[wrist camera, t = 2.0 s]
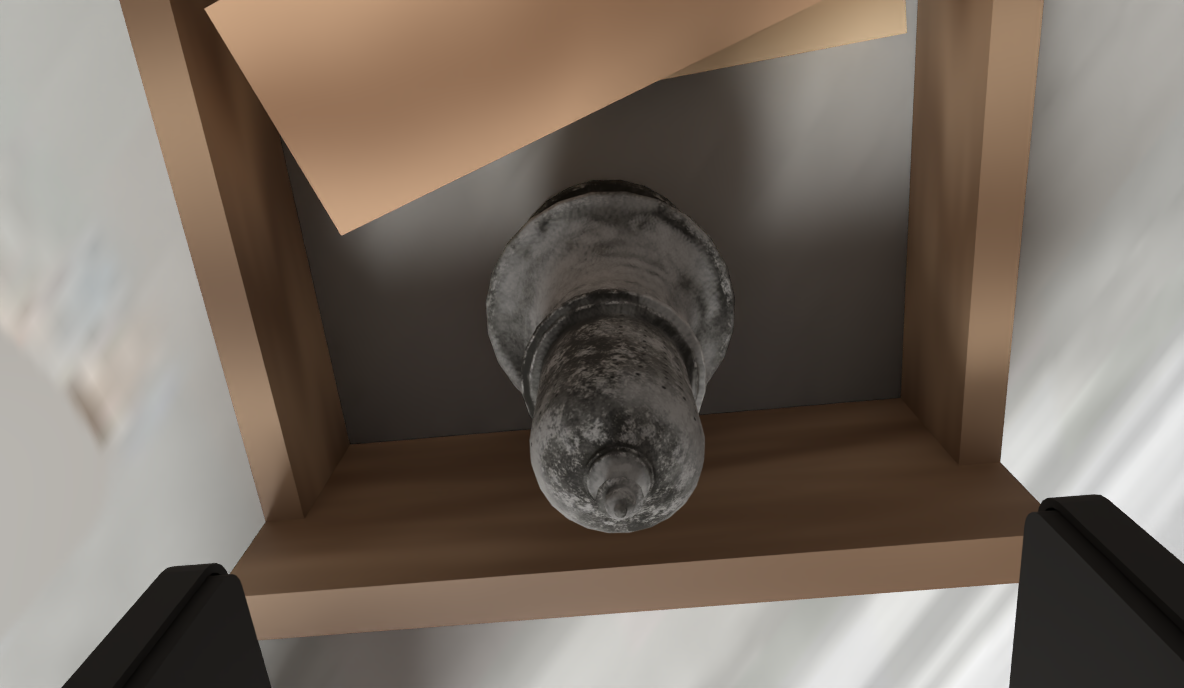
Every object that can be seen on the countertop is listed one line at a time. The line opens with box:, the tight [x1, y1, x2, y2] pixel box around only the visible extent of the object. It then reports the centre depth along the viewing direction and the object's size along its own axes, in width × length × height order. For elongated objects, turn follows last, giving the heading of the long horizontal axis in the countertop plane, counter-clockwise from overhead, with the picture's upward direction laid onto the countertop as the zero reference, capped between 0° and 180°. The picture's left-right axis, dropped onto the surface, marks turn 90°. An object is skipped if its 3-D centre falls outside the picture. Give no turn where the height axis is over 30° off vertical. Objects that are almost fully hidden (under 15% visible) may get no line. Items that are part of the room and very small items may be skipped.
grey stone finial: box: [486, 180, 735, 533], centre depth 17 cm, size 6×6×12 cm
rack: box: [119, 0, 1044, 640], centre depth 18 cm, size 16×18×7 cm
